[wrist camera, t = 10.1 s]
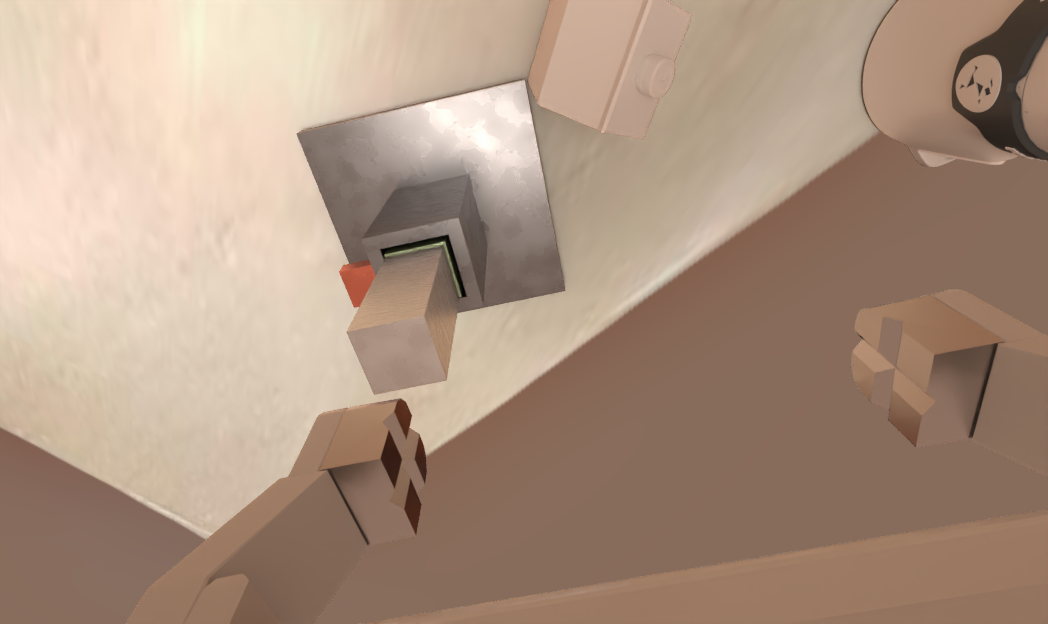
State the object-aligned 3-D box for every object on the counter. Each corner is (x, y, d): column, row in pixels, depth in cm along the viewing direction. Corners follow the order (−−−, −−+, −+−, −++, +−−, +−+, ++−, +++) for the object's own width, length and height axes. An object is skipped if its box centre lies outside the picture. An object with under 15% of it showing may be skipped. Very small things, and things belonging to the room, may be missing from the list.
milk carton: (526, 82, 45) (541, 114, 28) (553, -10, 42) (587, -37, 25) (603, 108, 46) (661, 152, 29) (634, 20, 43) (719, 14, 26)
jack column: (453, 208, 43) (425, 313, 27) (467, 257, 45) (448, 381, 29) (402, 220, 43) (343, 330, 27) (418, 268, 45) (372, 396, 29)
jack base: (523, 78, 45) (532, 97, 32) (563, 284, 54) (581, 359, 42) (302, 130, 46) (229, 167, 34) (379, 322, 55) (343, 405, 43)
